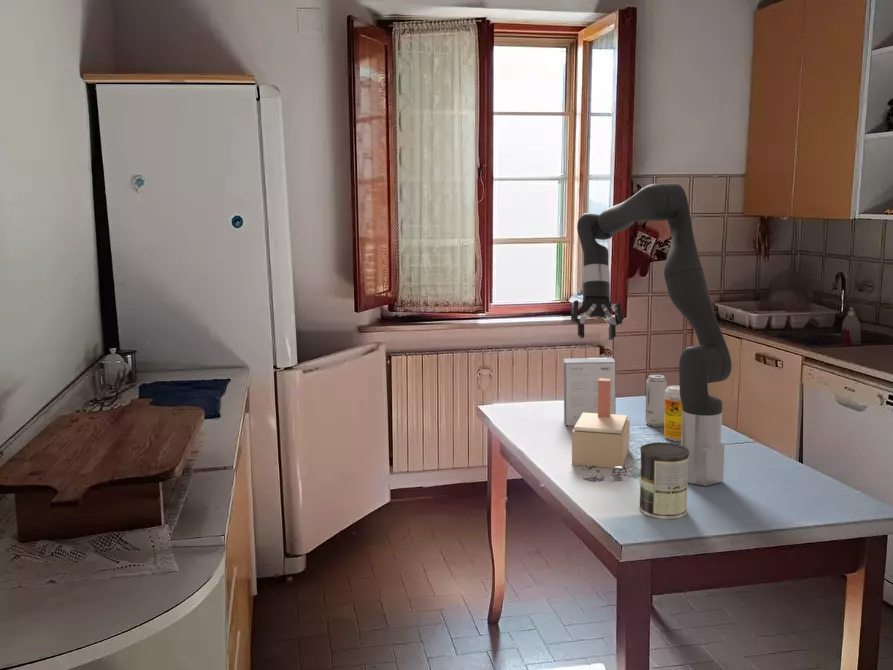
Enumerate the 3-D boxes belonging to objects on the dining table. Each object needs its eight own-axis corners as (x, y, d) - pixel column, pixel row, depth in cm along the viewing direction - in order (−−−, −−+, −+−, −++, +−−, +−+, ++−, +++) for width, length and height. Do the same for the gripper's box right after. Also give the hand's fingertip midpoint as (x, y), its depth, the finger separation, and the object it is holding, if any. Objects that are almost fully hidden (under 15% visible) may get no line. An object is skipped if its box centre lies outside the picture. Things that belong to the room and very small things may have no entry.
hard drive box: (613, 420, 251) (614, 357, 248) (615, 426, 243) (616, 362, 240) (563, 419, 253) (563, 357, 249) (564, 426, 245) (564, 362, 242)
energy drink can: (642, 421, 248) (643, 374, 246) (661, 421, 249) (663, 373, 246) (648, 427, 242) (649, 378, 240) (668, 426, 243) (669, 378, 240)
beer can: (664, 441, 228) (665, 389, 226) (663, 434, 234) (665, 384, 232) (686, 442, 227) (688, 390, 224) (685, 436, 233) (686, 385, 230)
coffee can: (630, 512, 177) (632, 450, 175) (651, 498, 185) (653, 439, 182) (675, 523, 170) (677, 459, 168) (694, 508, 178) (696, 447, 176)
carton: (581, 446, 224) (581, 415, 223) (629, 450, 220) (629, 418, 219) (571, 464, 209) (572, 431, 208) (622, 469, 205) (623, 435, 204)
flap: (583, 415, 222) (583, 376, 220) (627, 418, 218) (628, 379, 216) (573, 431, 207) (574, 389, 205) (621, 434, 203) (621, 392, 202)
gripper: (576, 278, 224) (576, 335, 221) (625, 280, 226) (625, 337, 223) (568, 284, 231) (568, 339, 228) (615, 286, 233) (616, 341, 230)
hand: (596, 338), depth 226 cm, fingers open, 8 cm apart
